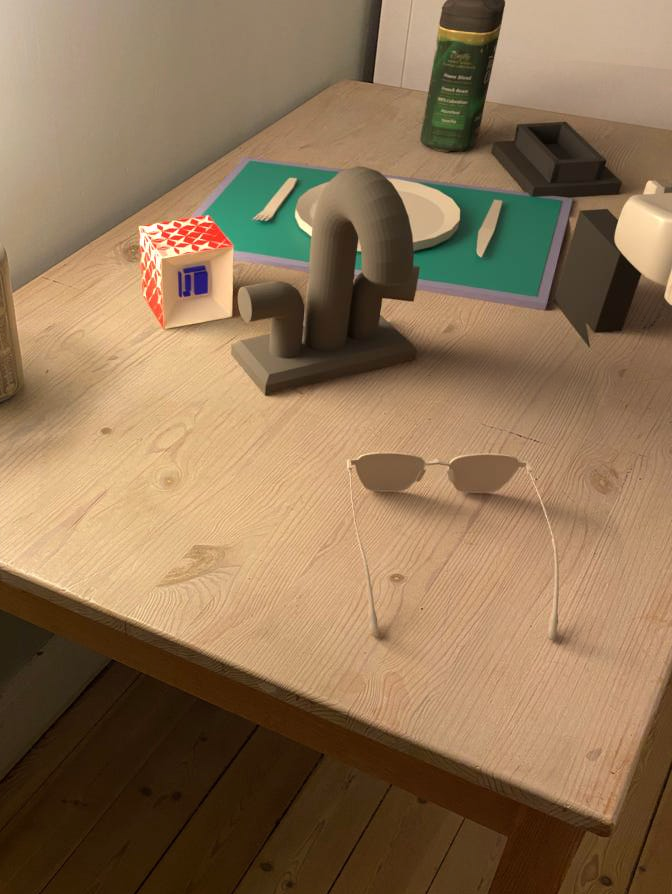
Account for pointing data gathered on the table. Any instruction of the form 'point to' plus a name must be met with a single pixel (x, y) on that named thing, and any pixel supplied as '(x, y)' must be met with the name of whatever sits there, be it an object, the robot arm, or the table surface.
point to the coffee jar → (461, 73)
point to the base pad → (555, 162)
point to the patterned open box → (186, 271)
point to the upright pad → (596, 276)
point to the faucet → (336, 291)
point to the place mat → (432, 223)
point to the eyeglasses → (465, 476)
